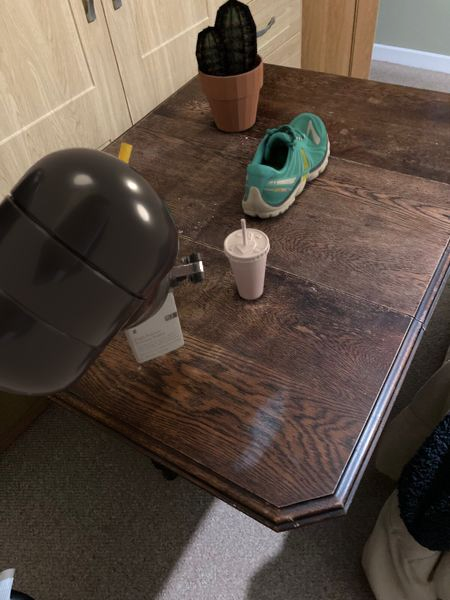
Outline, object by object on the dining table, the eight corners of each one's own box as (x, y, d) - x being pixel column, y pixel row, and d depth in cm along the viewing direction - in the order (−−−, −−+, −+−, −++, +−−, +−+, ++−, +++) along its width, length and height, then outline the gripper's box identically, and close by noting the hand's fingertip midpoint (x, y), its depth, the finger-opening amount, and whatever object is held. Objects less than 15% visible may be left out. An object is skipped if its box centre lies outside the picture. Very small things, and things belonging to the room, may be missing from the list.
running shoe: (340, 145, 100) (344, 90, 92) (292, 232, 83) (291, 174, 75) (288, 138, 104) (287, 84, 96) (232, 220, 87) (225, 163, 79)
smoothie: (225, 303, 74) (214, 231, 64) (235, 274, 78) (226, 201, 68) (267, 308, 72) (263, 234, 62) (275, 277, 76) (272, 204, 66)
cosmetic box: (138, 366, 57) (110, 293, 48) (126, 339, 60) (98, 267, 51) (187, 344, 58) (168, 270, 49) (173, 319, 61) (153, 245, 52)
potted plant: (221, 105, 117) (208, -15, 99) (275, 111, 112) (271, -13, 94) (194, 133, 110) (174, 9, 91) (250, 142, 105) (241, 12, 86)
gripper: (200, 212, 38) (197, 236, 54) (12, 251, 37) (67, 263, 53) (220, 308, 38) (211, 303, 55) (34, 348, 37) (82, 331, 54)
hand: (140, 283), depth 54 cm, fingers closed on cosmetic box, 6 cm apart
